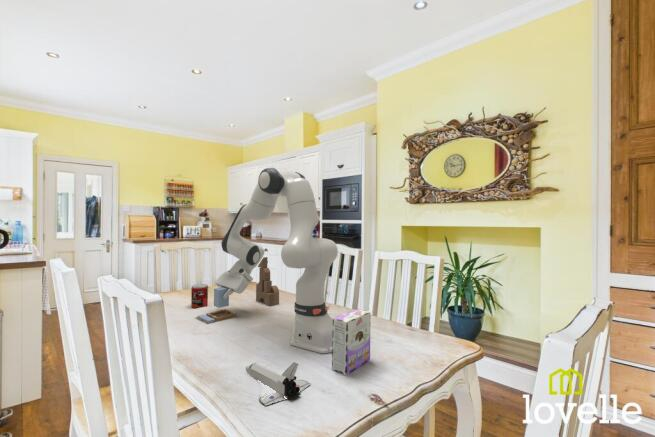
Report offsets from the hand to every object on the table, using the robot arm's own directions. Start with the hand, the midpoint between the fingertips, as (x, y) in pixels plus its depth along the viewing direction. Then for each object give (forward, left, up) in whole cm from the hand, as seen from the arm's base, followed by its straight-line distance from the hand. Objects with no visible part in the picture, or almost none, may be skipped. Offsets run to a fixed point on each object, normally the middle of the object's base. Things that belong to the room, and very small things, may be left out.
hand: (220, 296), depth 151 cm
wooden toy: (+9, -33, -10) cm, 35 cm away
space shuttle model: (-63, +19, -11) cm, 66 cm away
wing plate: (0, +7, -9) cm, 11 cm away
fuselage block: (0, -1, -4) cm, 4 cm away
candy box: (-72, -7, -10) cm, 73 cm away
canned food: (+26, -3, -10) cm, 28 cm away
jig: (0, +1, -10) cm, 10 cm away
